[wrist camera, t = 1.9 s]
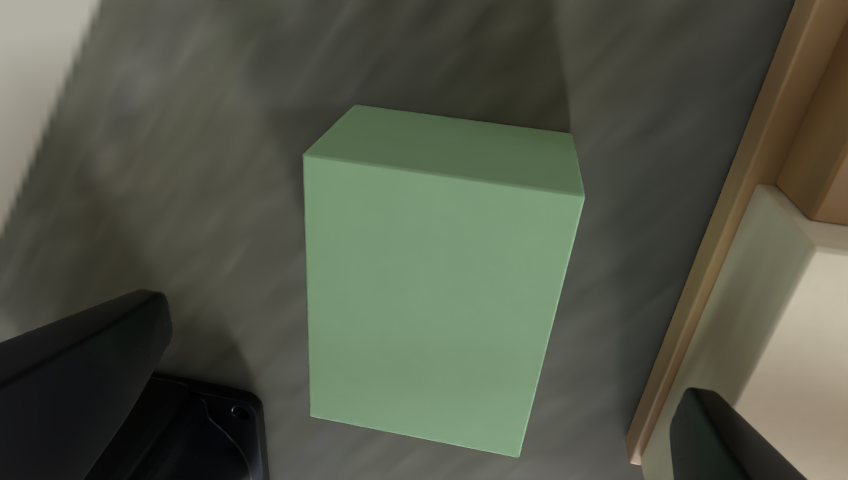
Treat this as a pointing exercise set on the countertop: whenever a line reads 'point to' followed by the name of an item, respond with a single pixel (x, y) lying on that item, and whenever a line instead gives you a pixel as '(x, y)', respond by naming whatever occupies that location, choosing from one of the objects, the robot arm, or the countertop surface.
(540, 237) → the green rectangular block
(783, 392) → the frame
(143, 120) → the countertop surface
